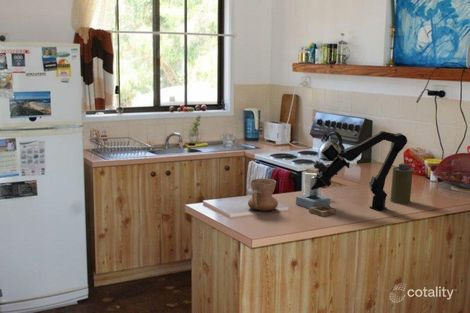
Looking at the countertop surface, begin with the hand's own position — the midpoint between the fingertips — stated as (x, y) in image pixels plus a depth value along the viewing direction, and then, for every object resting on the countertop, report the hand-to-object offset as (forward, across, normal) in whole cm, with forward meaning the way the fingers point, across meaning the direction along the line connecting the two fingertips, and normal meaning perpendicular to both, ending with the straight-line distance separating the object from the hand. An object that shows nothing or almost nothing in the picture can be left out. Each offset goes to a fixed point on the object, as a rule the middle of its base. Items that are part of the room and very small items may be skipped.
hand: (311, 188), depth 299 cm
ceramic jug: (+23, +12, -11) cm, 28 cm away
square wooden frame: (+3, +13, +10) cm, 16 cm away
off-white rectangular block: (+5, -20, +8) cm, 22 cm away
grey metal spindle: (+4, 0, +6) cm, 7 cm away
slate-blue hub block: (+5, 0, +7) cm, 9 cm away
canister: (-28, -17, +40) cm, 52 cm away
